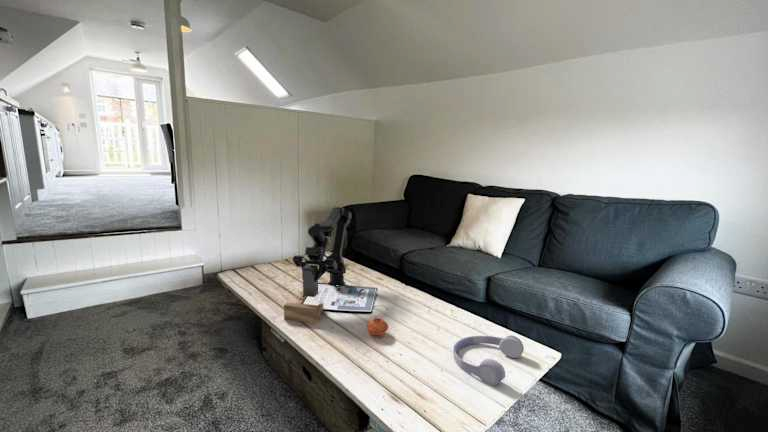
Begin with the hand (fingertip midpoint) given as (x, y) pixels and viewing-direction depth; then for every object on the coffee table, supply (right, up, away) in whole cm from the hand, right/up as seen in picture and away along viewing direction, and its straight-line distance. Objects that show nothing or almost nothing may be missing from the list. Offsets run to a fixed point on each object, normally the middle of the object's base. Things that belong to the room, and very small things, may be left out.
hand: (309, 280), depth 142 cm
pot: (+29, -18, -15) cm, 37 cm away
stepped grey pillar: (0, -6, +3) cm, 7 cm away
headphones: (+64, -21, -28) cm, 73 cm away
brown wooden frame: (-1, -14, 0) cm, 14 cm away
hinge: (-2, -4, +57) cm, 57 cm away
